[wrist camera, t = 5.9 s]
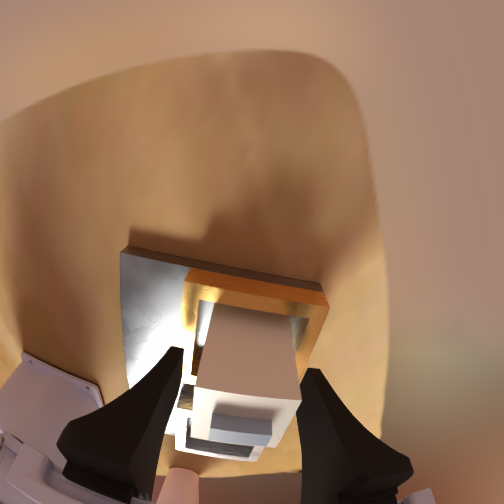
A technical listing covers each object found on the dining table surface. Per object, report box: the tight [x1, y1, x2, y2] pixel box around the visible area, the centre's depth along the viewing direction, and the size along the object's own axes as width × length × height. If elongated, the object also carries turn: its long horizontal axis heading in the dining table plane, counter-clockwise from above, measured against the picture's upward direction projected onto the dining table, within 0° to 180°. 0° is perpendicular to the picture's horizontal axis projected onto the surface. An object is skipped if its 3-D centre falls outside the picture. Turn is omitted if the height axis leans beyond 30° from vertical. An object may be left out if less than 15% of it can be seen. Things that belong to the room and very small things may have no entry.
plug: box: [191, 303, 302, 448], centre depth 12 cm, size 4×4×7 cm
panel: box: [120, 246, 330, 462], centre depth 17 cm, size 11×17×2 cm, turn 168°
